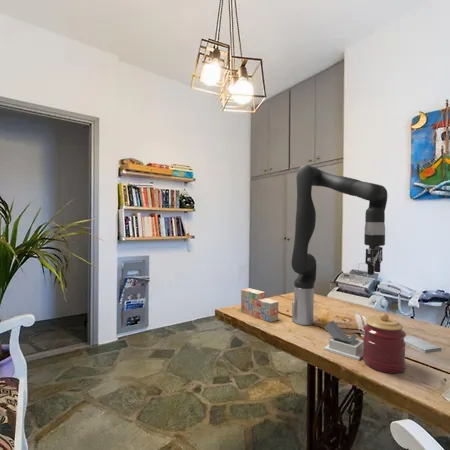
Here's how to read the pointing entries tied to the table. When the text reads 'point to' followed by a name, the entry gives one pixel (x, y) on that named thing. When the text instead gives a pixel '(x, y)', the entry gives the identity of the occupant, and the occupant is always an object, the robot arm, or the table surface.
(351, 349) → the dock
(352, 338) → the block
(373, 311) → the table surface
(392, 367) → the canister
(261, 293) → the stack of blocks
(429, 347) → the hard drive
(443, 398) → the table surface
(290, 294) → the table surface
